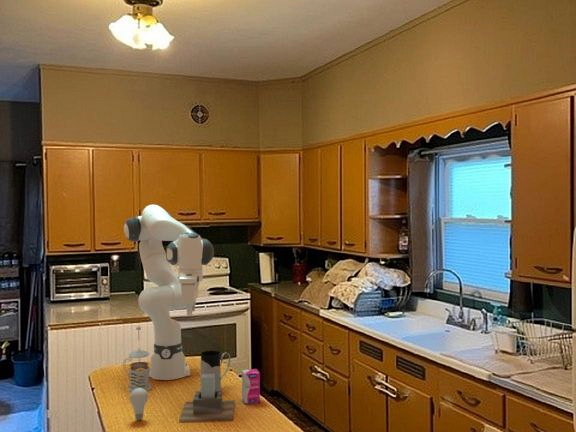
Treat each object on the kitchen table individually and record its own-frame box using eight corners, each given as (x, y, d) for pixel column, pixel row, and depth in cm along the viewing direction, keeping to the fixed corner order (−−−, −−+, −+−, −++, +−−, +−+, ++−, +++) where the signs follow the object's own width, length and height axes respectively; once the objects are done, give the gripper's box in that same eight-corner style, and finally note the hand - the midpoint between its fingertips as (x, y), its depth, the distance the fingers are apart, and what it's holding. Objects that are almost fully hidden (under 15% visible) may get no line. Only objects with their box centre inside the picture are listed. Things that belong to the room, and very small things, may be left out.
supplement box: (244, 405, 214) (244, 373, 214) (241, 399, 220) (241, 369, 219) (260, 403, 215) (260, 372, 215) (256, 398, 221) (256, 368, 221)
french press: (145, 392, 229) (144, 329, 229) (118, 391, 231) (117, 328, 231) (155, 385, 239) (155, 324, 238) (129, 383, 241) (128, 323, 241)
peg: (202, 407, 209) (202, 373, 209) (215, 406, 209) (214, 373, 209) (201, 411, 204) (200, 377, 204) (214, 411, 205) (213, 377, 204)
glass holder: (195, 390, 231) (194, 353, 231) (223, 382, 241) (222, 346, 241) (208, 395, 225) (208, 357, 224) (237, 387, 235) (236, 350, 234)
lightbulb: (150, 416, 203) (149, 385, 203) (146, 423, 197) (145, 390, 196) (132, 417, 203) (131, 385, 202) (128, 423, 196) (127, 391, 196)
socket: (185, 404, 215) (185, 388, 215) (234, 402, 216) (234, 386, 216) (179, 422, 197) (179, 404, 197) (232, 420, 198) (232, 403, 198)
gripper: (185, 273, 228) (186, 308, 228) (178, 279, 207) (179, 318, 208) (201, 272, 228) (202, 308, 228) (196, 279, 208) (196, 318, 208)
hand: (191, 313), depth 218 cm, fingers open, 8 cm apart
